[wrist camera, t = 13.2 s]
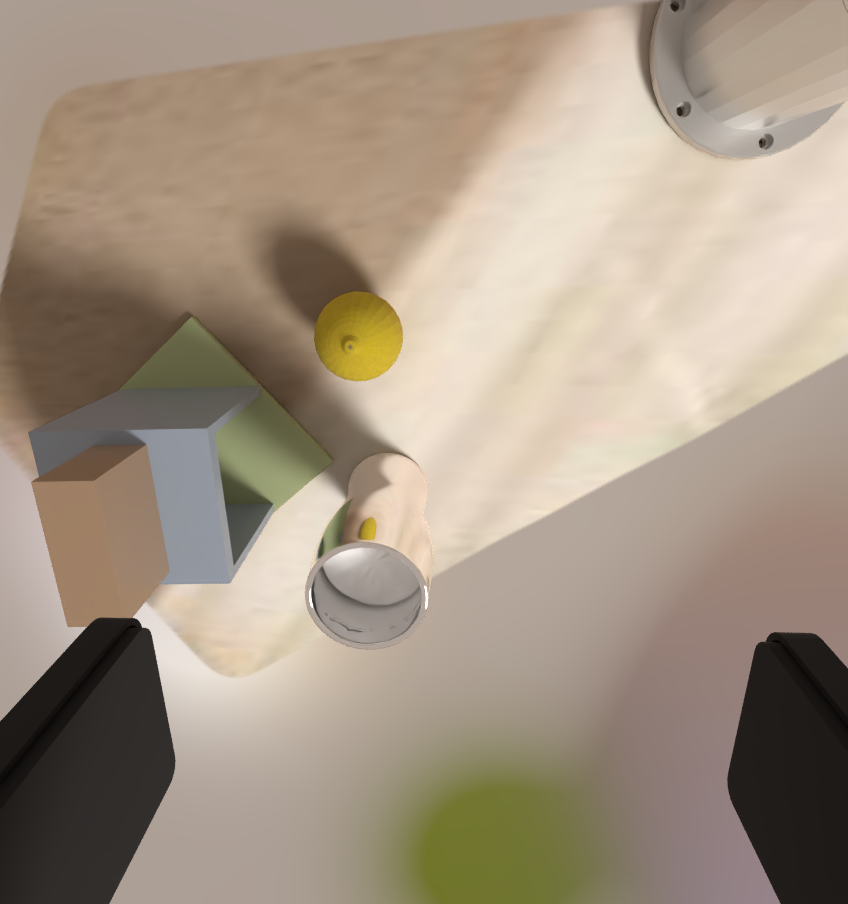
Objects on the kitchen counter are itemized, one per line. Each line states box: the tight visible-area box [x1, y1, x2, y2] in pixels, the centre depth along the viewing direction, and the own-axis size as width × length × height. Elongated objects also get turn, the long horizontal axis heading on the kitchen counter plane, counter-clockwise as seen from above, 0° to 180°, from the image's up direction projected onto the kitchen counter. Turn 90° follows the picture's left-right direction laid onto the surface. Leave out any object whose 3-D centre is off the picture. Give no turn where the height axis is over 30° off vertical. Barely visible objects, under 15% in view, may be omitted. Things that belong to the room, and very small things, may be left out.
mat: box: [119, 316, 333, 513], centre depth 46 cm, size 14×14×1 cm
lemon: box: [314, 291, 403, 381], centre depth 39 cm, size 6×6×8 cm
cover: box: [28, 386, 274, 627], centre depth 38 cm, size 10×10×16 cm
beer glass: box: [305, 453, 433, 650], centre depth 39 cm, size 7×7×15 cm
